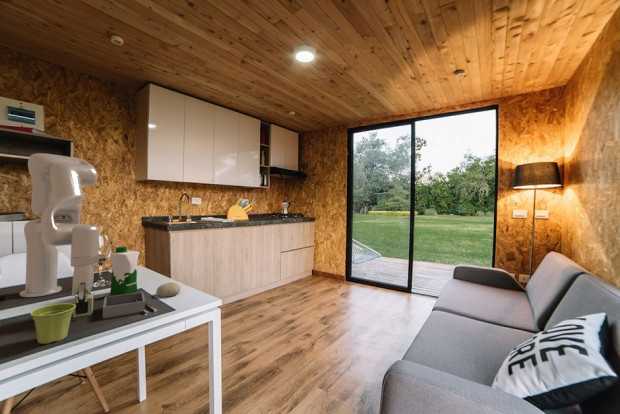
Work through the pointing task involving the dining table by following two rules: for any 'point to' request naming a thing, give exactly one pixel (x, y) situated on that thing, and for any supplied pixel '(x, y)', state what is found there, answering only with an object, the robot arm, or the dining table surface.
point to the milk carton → (124, 271)
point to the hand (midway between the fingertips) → (83, 308)
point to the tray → (123, 305)
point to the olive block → (90, 306)
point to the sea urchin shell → (168, 289)
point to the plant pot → (52, 322)
